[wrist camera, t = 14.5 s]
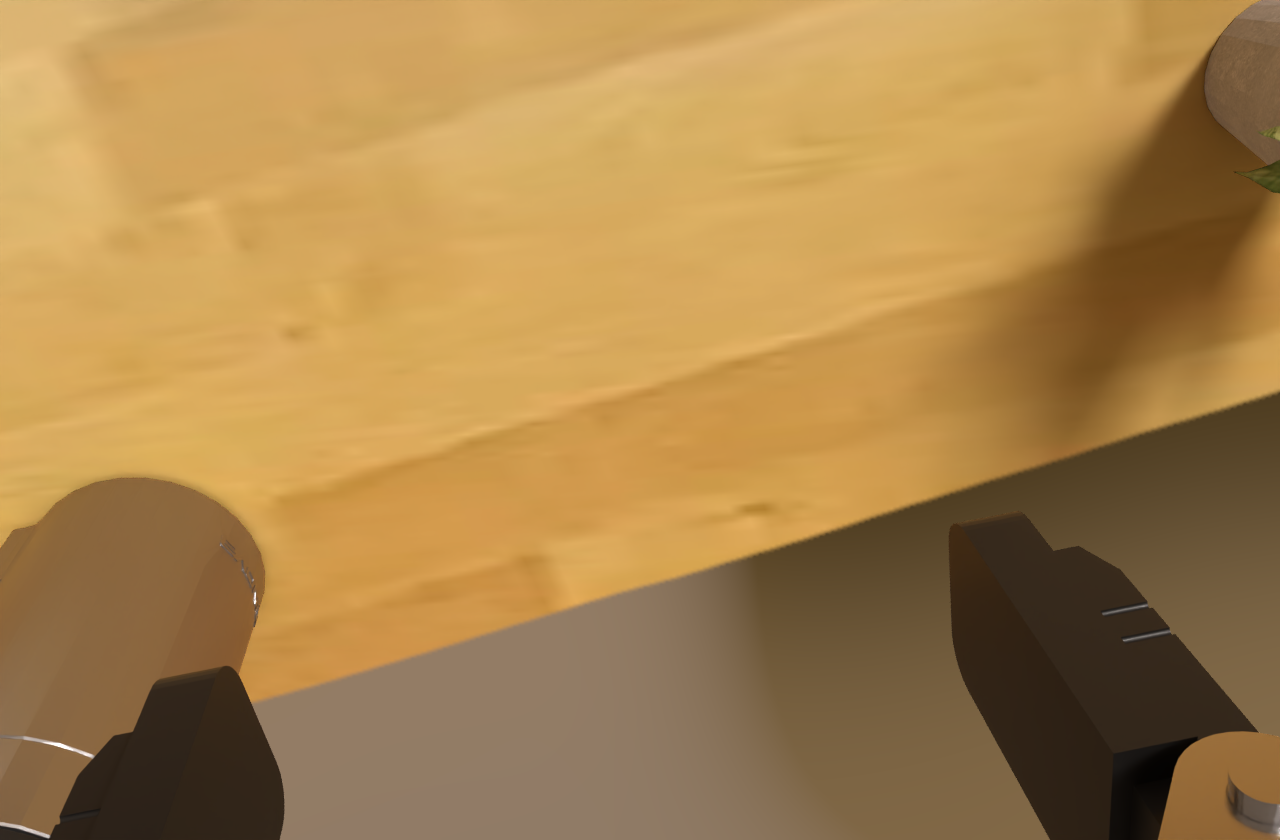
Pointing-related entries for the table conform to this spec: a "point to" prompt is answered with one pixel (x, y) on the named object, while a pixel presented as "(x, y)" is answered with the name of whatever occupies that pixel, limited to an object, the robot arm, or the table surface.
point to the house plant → (1250, 86)
